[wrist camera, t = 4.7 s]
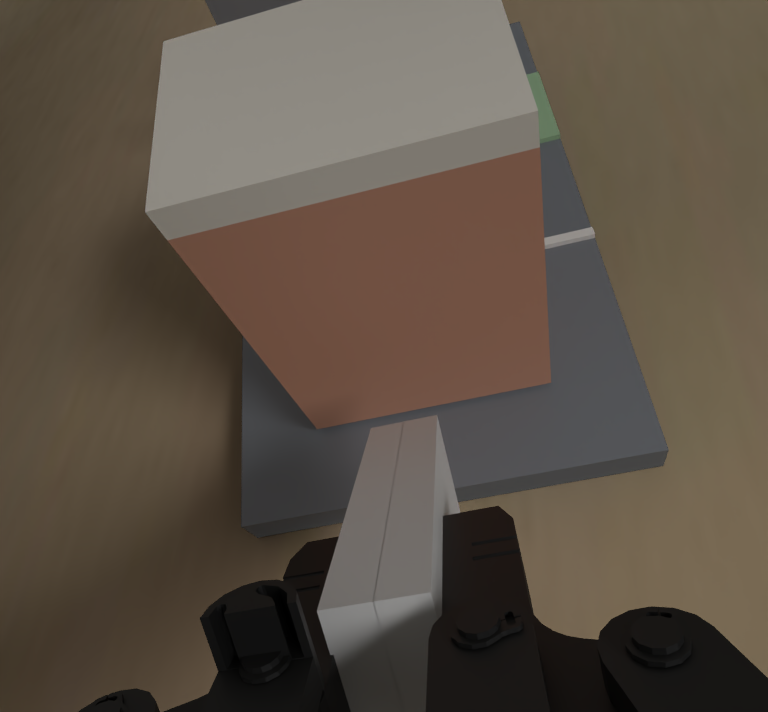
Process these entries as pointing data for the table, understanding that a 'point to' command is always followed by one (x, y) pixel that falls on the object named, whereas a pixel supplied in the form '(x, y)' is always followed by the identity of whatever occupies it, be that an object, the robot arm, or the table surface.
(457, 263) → the orange box with lid
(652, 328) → the table surface
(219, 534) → the table surface
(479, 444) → the base
